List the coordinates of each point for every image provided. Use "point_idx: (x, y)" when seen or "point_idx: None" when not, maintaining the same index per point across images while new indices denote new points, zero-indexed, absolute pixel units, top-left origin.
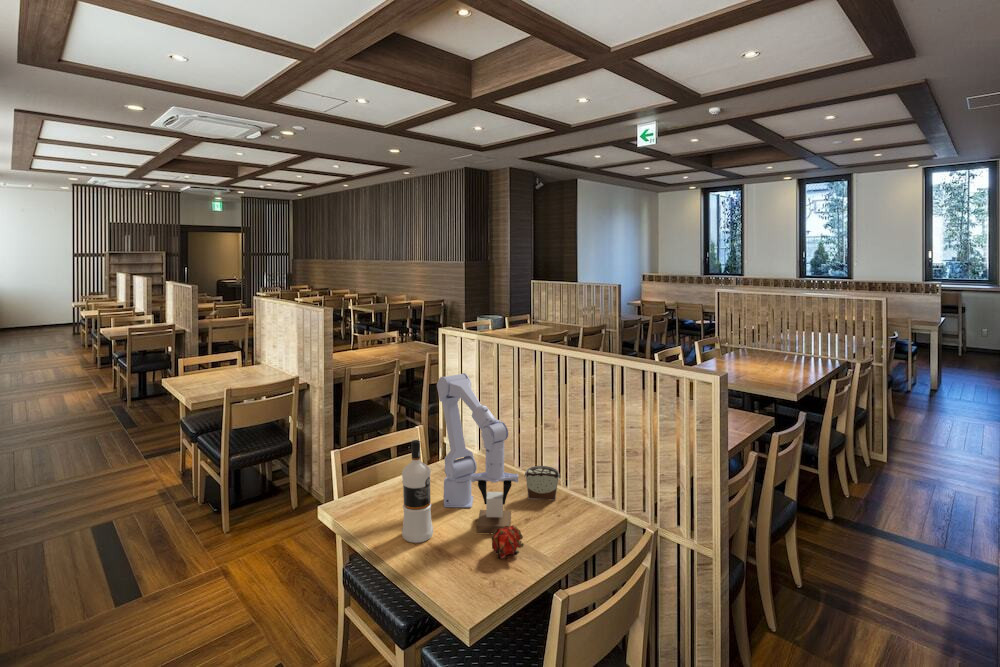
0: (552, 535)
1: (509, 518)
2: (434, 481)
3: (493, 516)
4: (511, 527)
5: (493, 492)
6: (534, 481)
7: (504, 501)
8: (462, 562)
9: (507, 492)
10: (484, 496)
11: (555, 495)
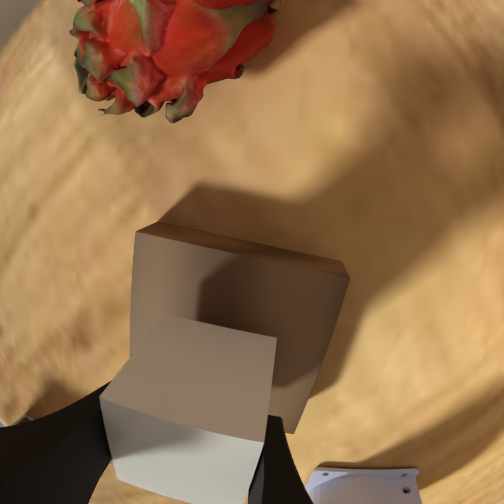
0: (6, 193)
1: (135, 324)
2: None
3: (226, 330)
4: (106, 19)
5: (188, 497)
6: None
7: (104, 388)
8: (432, 11)
9: (29, 423)
10: (280, 469)
11: (16, 423)
